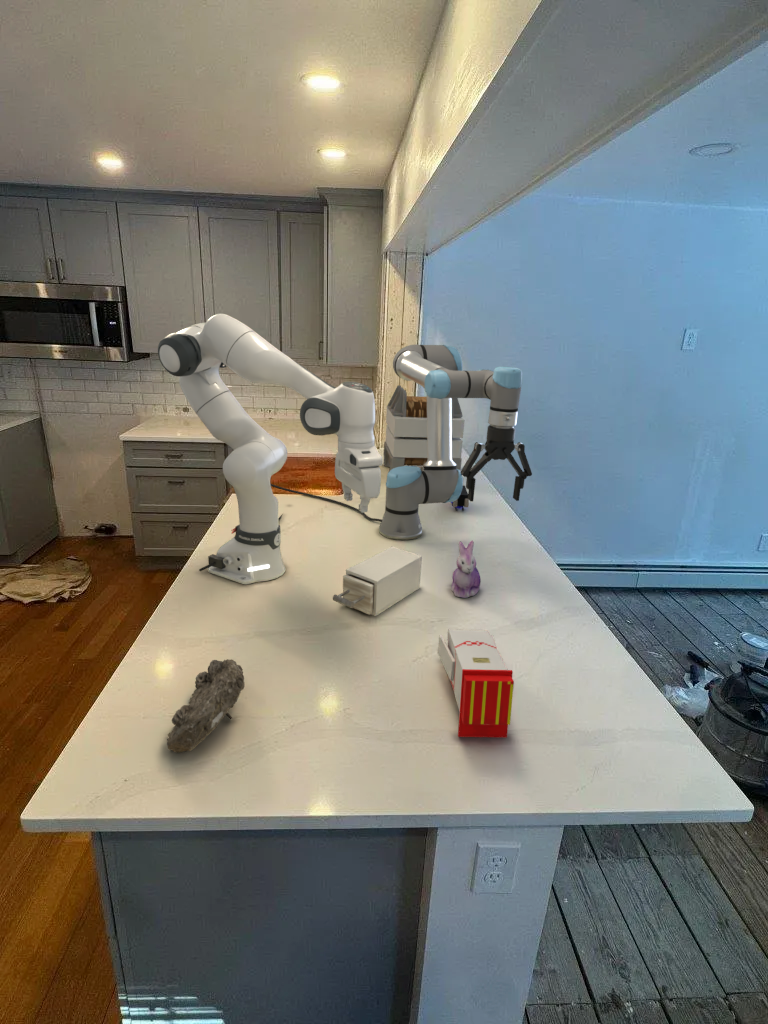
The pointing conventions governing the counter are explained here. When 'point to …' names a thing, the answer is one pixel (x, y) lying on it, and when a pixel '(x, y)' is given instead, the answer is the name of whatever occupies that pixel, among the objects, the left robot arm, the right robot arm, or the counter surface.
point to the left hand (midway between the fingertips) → (355, 505)
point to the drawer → (357, 594)
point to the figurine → (466, 573)
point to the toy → (478, 682)
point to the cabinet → (389, 576)
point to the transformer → (415, 431)
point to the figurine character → (461, 500)
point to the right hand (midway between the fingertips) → (493, 499)
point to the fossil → (206, 705)
